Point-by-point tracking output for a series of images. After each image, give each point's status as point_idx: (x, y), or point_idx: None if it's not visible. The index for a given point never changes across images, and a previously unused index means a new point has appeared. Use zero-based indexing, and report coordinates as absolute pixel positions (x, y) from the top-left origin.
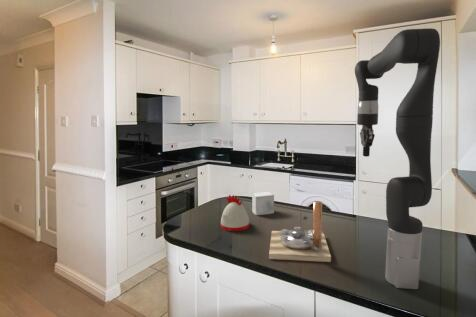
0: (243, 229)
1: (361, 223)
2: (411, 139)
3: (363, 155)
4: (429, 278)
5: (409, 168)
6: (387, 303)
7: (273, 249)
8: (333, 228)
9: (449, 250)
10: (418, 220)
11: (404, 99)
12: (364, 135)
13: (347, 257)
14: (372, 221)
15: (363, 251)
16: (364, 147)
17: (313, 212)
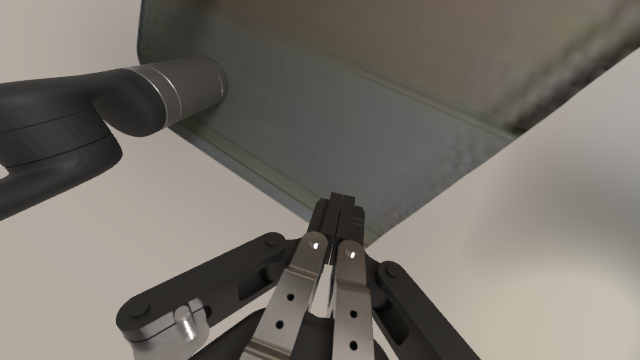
0: None
1: (455, 125)
2: None
3: (336, 193)
4: (223, 124)
5: (17, 186)
6: (142, 26)
7: None
8: (445, 32)
9: (307, 199)
10: (114, 127)
11: None
12: (257, 332)
13: (273, 11)
14: (458, 156)
15: (302, 61)
16: (320, 234)
17: None
